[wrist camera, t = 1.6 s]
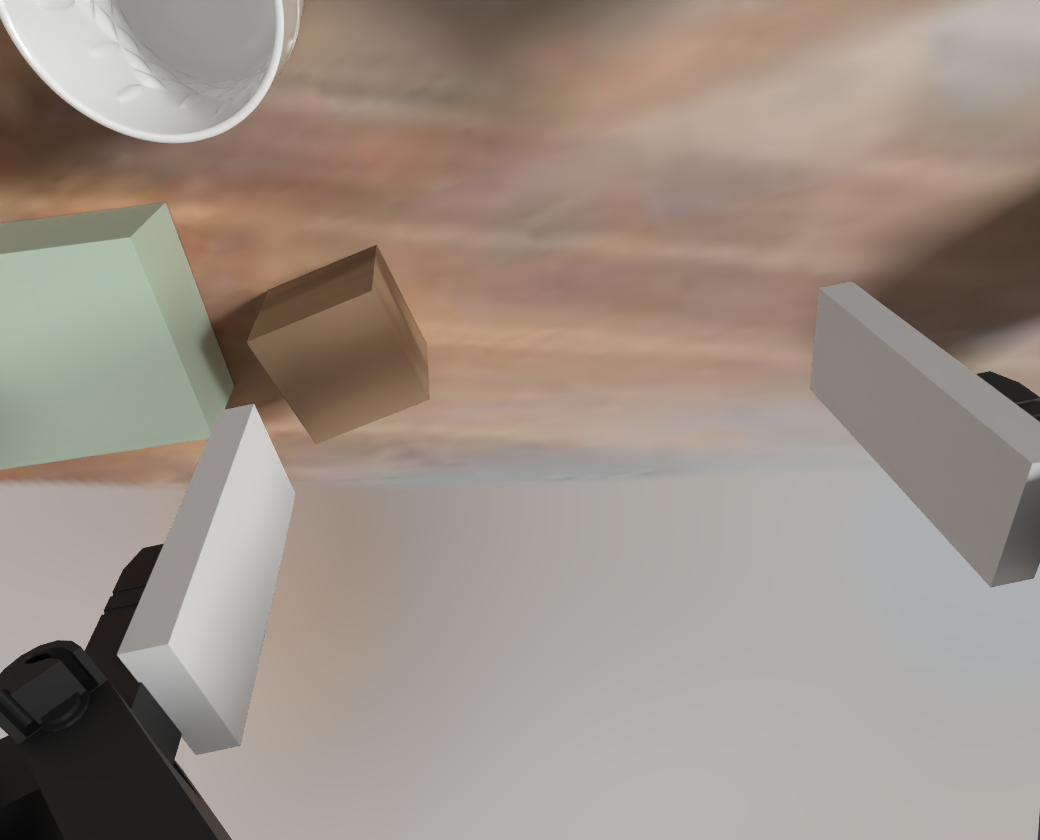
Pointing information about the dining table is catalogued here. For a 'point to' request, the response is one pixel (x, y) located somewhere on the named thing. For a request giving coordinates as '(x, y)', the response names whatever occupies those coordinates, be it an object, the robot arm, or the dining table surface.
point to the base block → (102, 338)
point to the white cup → (157, 59)
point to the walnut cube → (342, 345)
